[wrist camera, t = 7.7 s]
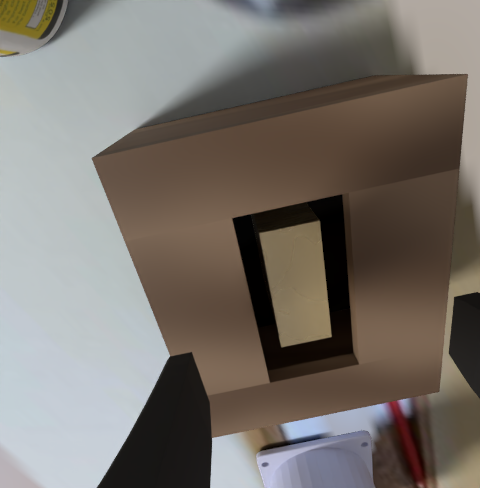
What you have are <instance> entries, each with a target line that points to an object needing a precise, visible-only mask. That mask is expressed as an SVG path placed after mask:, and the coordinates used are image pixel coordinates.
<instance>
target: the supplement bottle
mask: <svg viewBox="0 0 480 488" xmlns="http://www.w3.org/2000/svg"><path fill="white" fill-rule="evenodd" d="M67 4H68V0H0V57H10V56H19V55H24V54H27V53H30V52H32V51H35V50H37V49H38V48H40V47H41V46H43V45H44V44H45V43H47V42H48V41H49V40H50V39H51V38H52V37H53V35H54V34H55V33H56V31H57V30H58V28H59V26H60V25H61V23H62V20H63V18H64V15H65V12H66V8H67Z"/></svg>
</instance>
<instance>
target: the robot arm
mask: <svg viewBox="0 0 480 488" xmlns="http://www.w3.org/2000/svg"><path fill="white" fill-rule="evenodd" d="M449 354H450V356H451V358H452V359H453V361H454V362H455V364H456V366H457V367H458V369H459V370H460V372H461V373H462V375H463V376H464V378H465V379H466V381H467V382H468V384H469V385H470V387H471V388H472V389H473V391H474V392H475V393H476V394H477V396H478V397H479V398H480V293H478V292H476V293H471V294H466V295H462V296H457V297H454V306H453V316H452V326H451V336H450V346H449ZM211 455H212V430H211V413H210V401H209V399H208V396H207V393H206V390H205V387H204V385H203V382H202V379H201V376H200V373H199V371H198V368H197V365H196V362H195V359H194V357H193V354H192V352H189V353H184V354H179V355H175V356H170V357H169V359H168V360H167V362H166V364H165V366H164V368H163V370H162V372H161V374H160V376H159V379H158V381H157V383H156V385H155V387H154V389H153V391H152V393H151V395H150V396H149V398H148V400H147V402H146V404H145V406H144V408H143V410H142V412H141V414H140V415H139V417H138V419H137V421H136V423H135V425H134V427H133V428H132V430H131V432H130V434H129V436H128V437H127V439H126V441H125V443H124V444H123V446H122V448H121V449H120V451H119V453H118V454H117V456H116V458H115V459H114V461H113V463H112V464H111V466H110V468H109V469H108V471H107V473H106V474H105V476H104V477H103V479H102V481H101V482H100V484H99V485H98V487H97V488H210V477H211ZM256 457H257V463H258V466H259V470H260V473H261V476H262V480H263V483H264V486H265V488H375V485H374V483H373V467H372V444H371V436H370V434H369V432H368V431H358V432H353V433H348V434H343V435H338V436H333V437H328V438H323V439H318V440H313V441H308V442H303V443H298V444H293V445H288V446H283V447H278V448H273V449H268V450H263V451H260V452H258V453H257V455H256Z"/></svg>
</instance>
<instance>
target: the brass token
mask: <svg viewBox="0 0 480 488" xmlns="http://www.w3.org/2000/svg"><path fill="white" fill-rule="evenodd" d="M251 218H252V223H253V228H254V233H255V238H256V243H257V248H258V253H259V258H260V263H261V268H262V273H263V278H264V282H265V286H266V290H267V294H268V298H269V302H270V306H271V309H272V313H273V317H274V321H275V325H276V329H277V333H278V337H279V341H280V344H281V347H286V346H290V345H295V344H300V343H305V342H310V341H315V340H320V339H324V338H329V337H332V335H331V325H330V316H329V306H328V296H327V286H326V277H325V267H324V257H323V247H322V238H321V228H320V220H319V219H318V218H317V216H316V215H315V214H314V212H313V211H312V210H311V208H310V207H309V206H308V204H307V203H306V202H304V203H299V204H294V205H290V206H285V207H281V208H276V209H271V210H267V211H262V212H258V213H253V214H251Z"/></svg>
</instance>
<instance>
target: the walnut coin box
mask: <svg viewBox="0 0 480 488" xmlns="http://www.w3.org/2000/svg"><path fill="white" fill-rule="evenodd" d="M467 78H468V74H440V75H375V76H370V77H366V78H361V79H357V80H352V81H348V82H343V83H339V84H335V85H330V86H326V87H321V88H317V89H312V90H308V91H304V92H299V93H295V94H290V95H286V96H281V97H277V98H272V99H268V100H264V101H259V102H255V103H250V104H246V105H241V106H237V107H232V108H228V109H224V110H219V111H215V112H210V113H206V114H201V115H197V116H193V117H188V118H184V119H179V120H175V121H170V122H166V123H161V124H157V125H153V126H148V127H144V128H139V129H135V130H133V131H132V132H130V133H129V134H127V135H126V136H124V137H123V138H121V139H120V140H118V141H117V142H115V143H114V144H112V145H111V146H109V147H108V148H106V149H105V150H103V151H102V152H100V153H99V154H97V155H96V156H94V157H93V158H92V160H93V163H94V165H95V168H96V170H97V173H98V175H99V178H100V180H101V183H102V185H103V188H104V190H105V193H106V195H107V198H108V200H109V203H110V205H111V208H112V210H113V213H114V215H115V218H116V220H117V223H118V226H119V228H120V231H121V233H122V236H123V238H124V241H125V243H126V246H127V248H128V251H129V253H130V256H131V258H132V261H133V263H134V266H135V268H136V271H137V273H138V276H139V278H140V281H141V283H142V286H143V288H144V291H145V293H146V296H147V298H148V301H149V303H150V306H151V308H152V311H153V313H154V316H155V318H156V321H157V323H158V326H159V329H160V331H161V334H162V336H163V339H164V341H165V344H166V346H167V349H168V351H169V354H170V356H175V355H179V354H184V353H189V352H192V354H193V357H194V359H195V362H196V365H197V368H198V371H199V373H200V376H201V379H202V382H203V385H204V387H205V390H206V393H207V396H208V399H209V401H210V413H211V430H212V438H214V437H219V436H224V435H229V434H234V433H239V432H244V431H249V430H254V429H259V428H263V427H268V426H273V425H278V424H283V423H288V422H293V421H298V420H303V419H308V418H313V417H318V416H323V415H327V414H332V413H337V412H342V411H347V410H352V409H357V408H362V407H367V406H372V405H377V404H382V403H387V402H392V401H397V400H401V399H406V398H411V397H416V396H421V395H426V394H431V393H436V392H439V389H440V378H441V367H442V356H443V345H444V334H445V323H446V312H447V300H448V289H449V278H450V267H451V256H452V245H453V234H454V223H455V211H456V200H457V189H458V178H459V167H460V156H461V145H462V134H463V122H464V111H465V100H466V99H465V98H466V89H467ZM340 194H342V195H343V210H344V224H345V238H346V253H347V267H348V282H349V296H350V308H349V309H344V310H340V311H335V312H330V313H329V316H330V325H331V335H332V337H329V338H324V339H320V340H315V341H310V342H305V343H300V344H295V345H290V346H286V347H281V344H280V341H279V337H278V333H277V329H276V325H275V324H273V325H268V326H263V327H259V328H258V327H257V322H256V318H255V314H254V309H253V305H252V301H251V296H250V292H249V288H248V283H247V279H246V275H245V270H244V266H243V262H242V257H241V253H240V248H239V244H238V240H237V235H236V231H235V227H234V222H233V218H235V217H239V216H244V215H248V214H253V213H258V212H262V211H267V210H271V209H276V208H281V207H285V206H290V205H294V204H299V203H304V202H308V201H313V200H317V199H322V198H327V197H331V196H336V195H340Z"/></svg>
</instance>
